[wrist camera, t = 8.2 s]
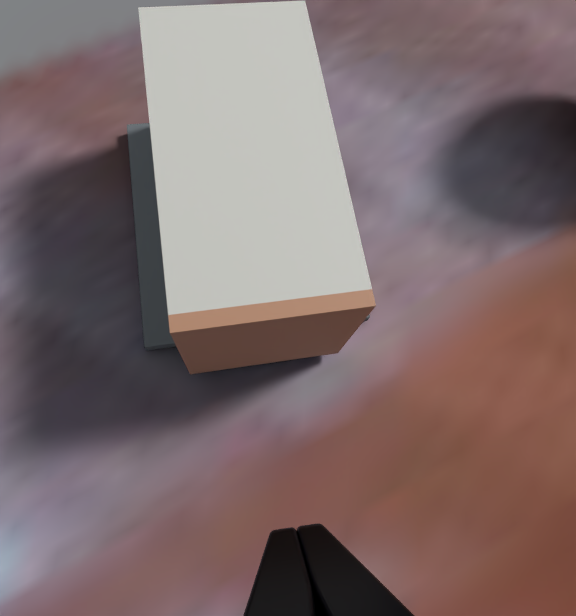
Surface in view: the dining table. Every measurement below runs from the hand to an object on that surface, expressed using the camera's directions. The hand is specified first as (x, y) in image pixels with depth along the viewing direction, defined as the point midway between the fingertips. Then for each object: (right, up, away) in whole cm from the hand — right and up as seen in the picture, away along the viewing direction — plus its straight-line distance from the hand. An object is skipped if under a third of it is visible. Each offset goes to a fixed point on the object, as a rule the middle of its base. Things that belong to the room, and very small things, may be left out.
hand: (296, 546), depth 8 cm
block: (-1, +3, +5) cm, 6 cm away
